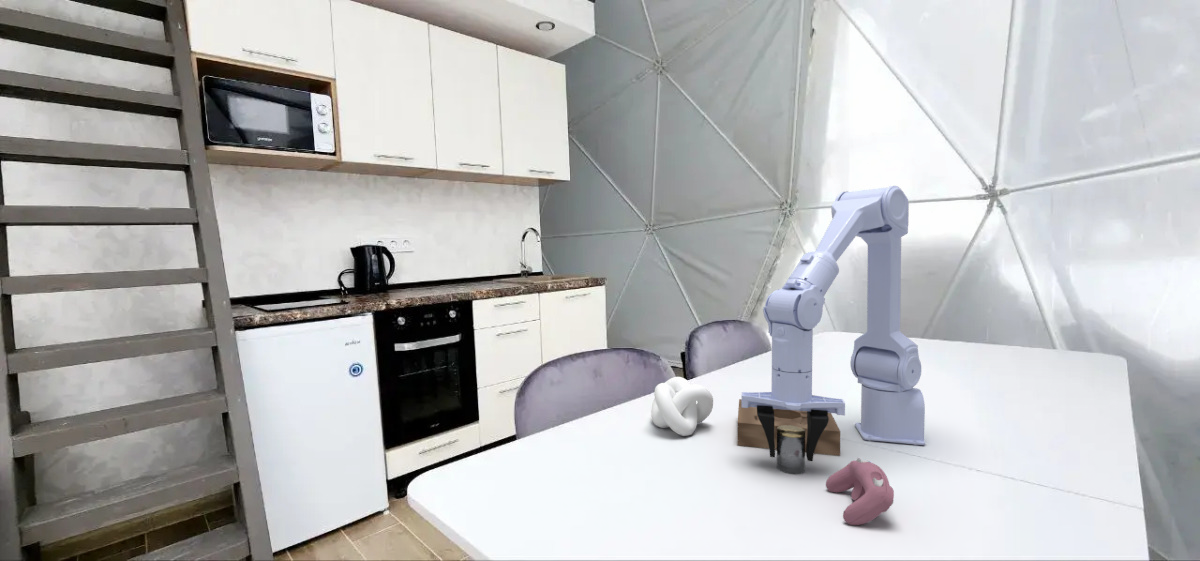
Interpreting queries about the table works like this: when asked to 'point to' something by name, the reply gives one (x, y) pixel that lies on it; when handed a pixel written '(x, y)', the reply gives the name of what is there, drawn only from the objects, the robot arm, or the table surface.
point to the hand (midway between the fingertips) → (790, 456)
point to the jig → (755, 436)
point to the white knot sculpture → (680, 405)
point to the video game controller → (862, 490)
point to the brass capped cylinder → (791, 449)
